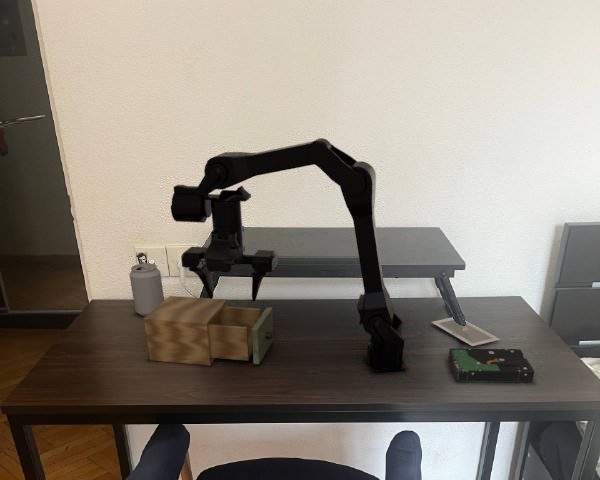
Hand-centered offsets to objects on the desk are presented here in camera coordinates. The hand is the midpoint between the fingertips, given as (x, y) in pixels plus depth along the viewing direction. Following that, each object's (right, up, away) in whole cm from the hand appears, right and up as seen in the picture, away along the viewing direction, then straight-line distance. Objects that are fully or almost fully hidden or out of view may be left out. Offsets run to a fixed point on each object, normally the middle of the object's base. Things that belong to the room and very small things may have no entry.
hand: (232, 299), depth 120 cm
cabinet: (-10, -10, +8) cm, 16 cm away
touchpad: (+52, -6, +13) cm, 54 cm away
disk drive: (+53, -15, -2) cm, 55 cm away
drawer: (+1, -10, +6) cm, 11 cm away
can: (-24, +1, +28) cm, 37 cm away
